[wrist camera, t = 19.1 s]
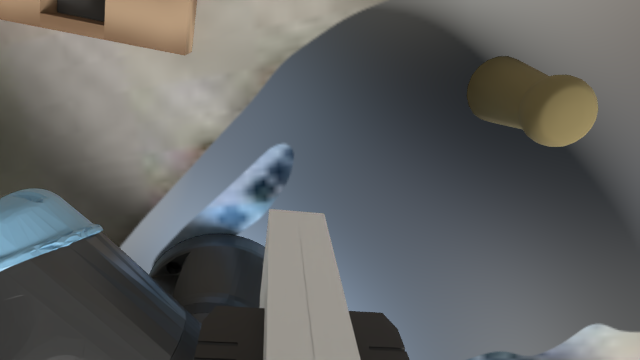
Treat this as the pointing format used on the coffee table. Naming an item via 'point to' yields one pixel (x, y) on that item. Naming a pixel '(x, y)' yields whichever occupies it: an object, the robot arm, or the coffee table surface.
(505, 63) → the cork
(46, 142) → the coffee table surface
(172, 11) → the wooden box
